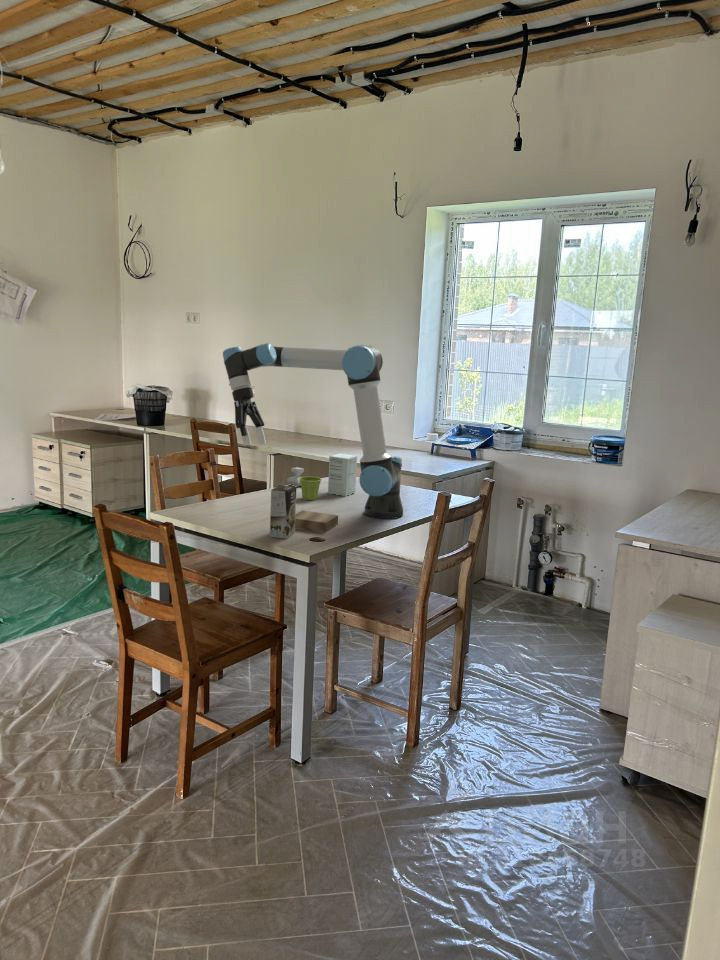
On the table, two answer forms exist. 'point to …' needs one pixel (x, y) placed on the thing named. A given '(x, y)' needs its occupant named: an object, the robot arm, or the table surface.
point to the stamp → (295, 480)
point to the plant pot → (310, 487)
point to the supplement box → (342, 474)
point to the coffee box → (283, 511)
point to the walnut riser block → (315, 521)
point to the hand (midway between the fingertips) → (255, 444)
